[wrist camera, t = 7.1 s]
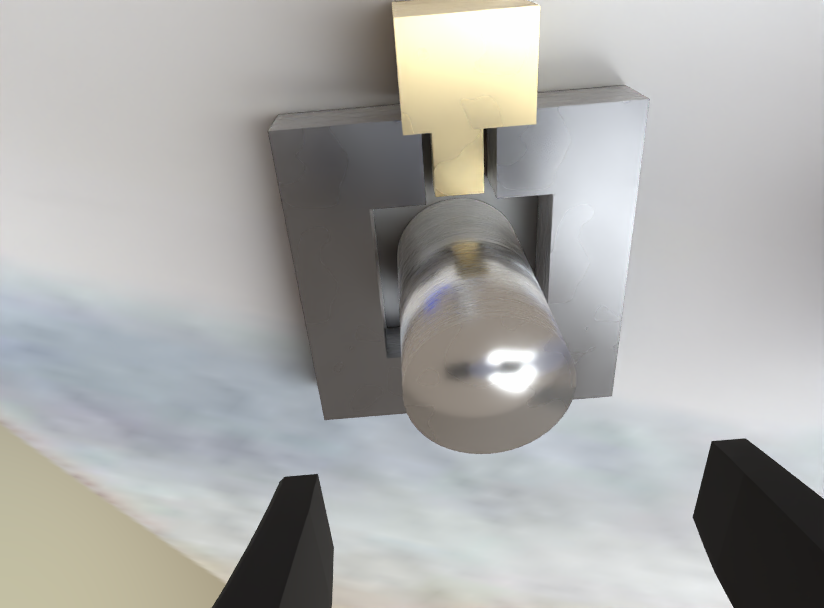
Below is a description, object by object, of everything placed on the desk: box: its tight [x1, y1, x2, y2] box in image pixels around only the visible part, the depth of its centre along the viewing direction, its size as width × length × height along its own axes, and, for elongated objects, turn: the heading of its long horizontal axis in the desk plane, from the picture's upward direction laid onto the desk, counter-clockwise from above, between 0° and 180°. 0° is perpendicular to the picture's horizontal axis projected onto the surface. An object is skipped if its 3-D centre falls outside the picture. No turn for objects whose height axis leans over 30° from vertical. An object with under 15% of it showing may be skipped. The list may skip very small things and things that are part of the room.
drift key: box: [392, 0, 540, 197], centre depth 15 cm, size 3×5×4 cm, turn 4°
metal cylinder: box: [397, 198, 576, 454], centre depth 17 cm, size 4×4×7 cm
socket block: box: [268, 85, 650, 420], centre depth 19 cm, size 10×10×2 cm
